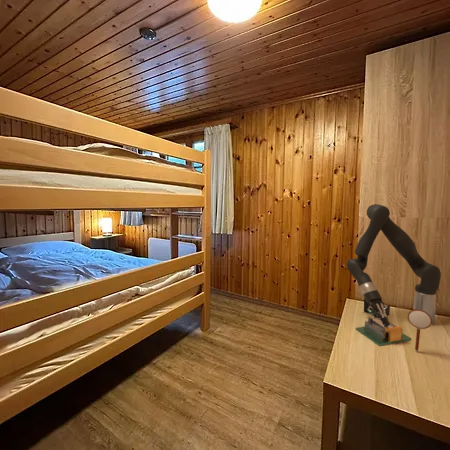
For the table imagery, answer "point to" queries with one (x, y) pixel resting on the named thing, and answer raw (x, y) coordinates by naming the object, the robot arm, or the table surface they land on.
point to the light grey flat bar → (380, 323)
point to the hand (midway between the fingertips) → (387, 325)
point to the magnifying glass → (419, 322)
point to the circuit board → (382, 333)
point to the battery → (366, 306)
